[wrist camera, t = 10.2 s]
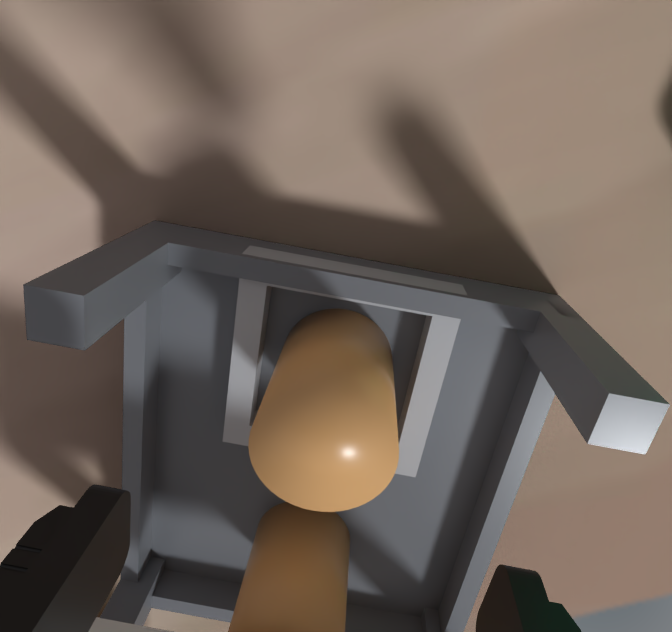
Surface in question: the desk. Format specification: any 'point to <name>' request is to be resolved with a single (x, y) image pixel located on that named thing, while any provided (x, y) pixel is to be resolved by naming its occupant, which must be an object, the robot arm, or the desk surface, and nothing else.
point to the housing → (245, 399)
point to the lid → (119, 627)
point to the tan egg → (328, 415)
